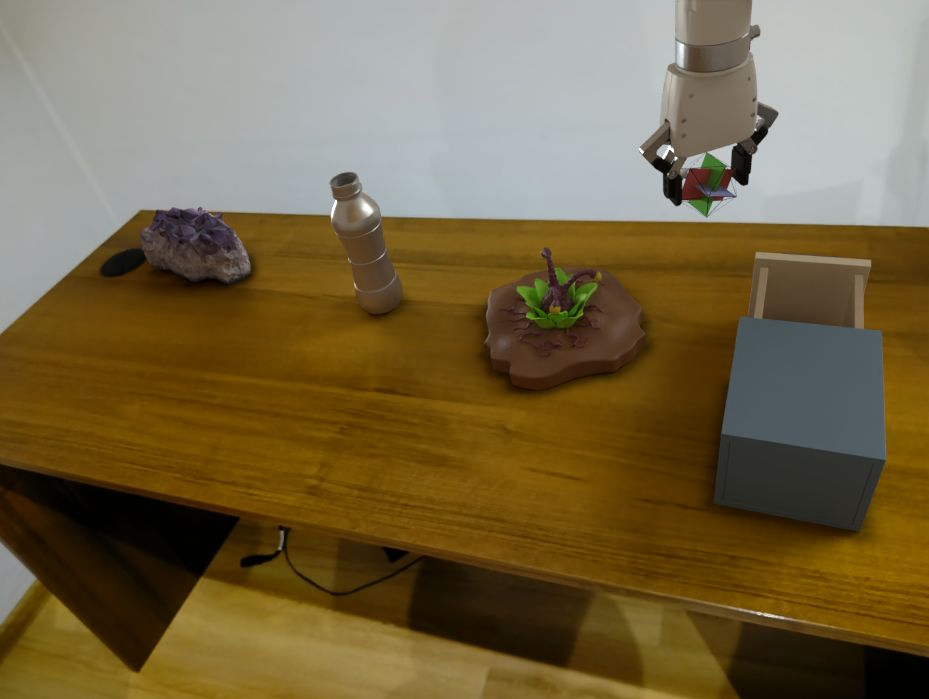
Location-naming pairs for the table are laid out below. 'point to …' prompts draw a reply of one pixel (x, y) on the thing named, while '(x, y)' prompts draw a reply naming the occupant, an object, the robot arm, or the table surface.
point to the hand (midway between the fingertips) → (706, 190)
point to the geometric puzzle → (706, 184)
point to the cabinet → (803, 422)
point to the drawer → (809, 289)
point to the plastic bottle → (364, 245)
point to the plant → (562, 326)
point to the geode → (195, 246)
